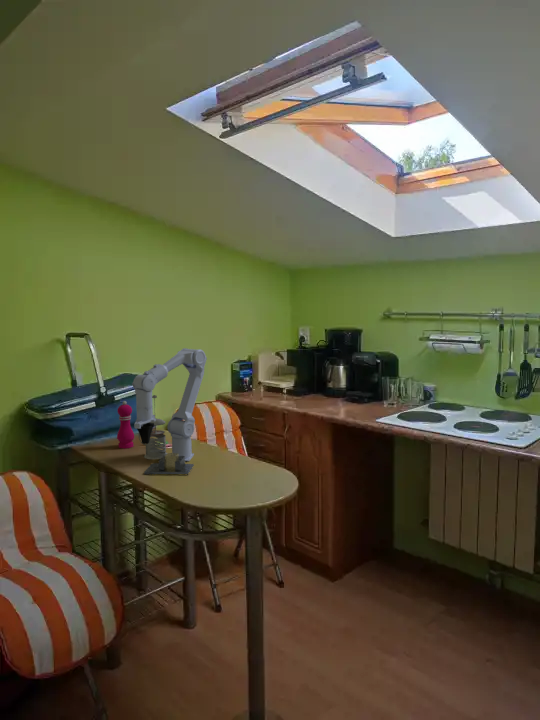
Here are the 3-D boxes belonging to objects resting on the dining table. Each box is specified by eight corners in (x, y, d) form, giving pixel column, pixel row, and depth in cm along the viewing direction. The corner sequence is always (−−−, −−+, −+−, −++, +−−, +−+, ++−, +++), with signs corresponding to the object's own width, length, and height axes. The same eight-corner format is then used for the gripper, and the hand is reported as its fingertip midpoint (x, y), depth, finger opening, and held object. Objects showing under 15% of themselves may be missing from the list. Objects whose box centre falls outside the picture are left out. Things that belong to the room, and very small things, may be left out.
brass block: (168, 466, 199) (167, 453, 198) (178, 466, 199) (178, 453, 198) (165, 469, 195) (165, 456, 194) (176, 469, 195) (175, 456, 194)
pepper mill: (116, 445, 231) (114, 400, 229) (133, 443, 234) (131, 399, 232) (118, 449, 225) (117, 403, 223) (136, 447, 228) (134, 401, 226)
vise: (152, 465, 203) (151, 454, 202) (193, 466, 202) (193, 454, 201) (144, 474, 193) (143, 462, 192) (187, 475, 192) (187, 462, 191)
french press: (170, 457, 213) (169, 396, 210) (141, 461, 209) (139, 398, 206) (166, 451, 222) (164, 392, 220) (137, 454, 218) (135, 394, 215)
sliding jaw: (167, 460, 205) (166, 451, 205) (172, 460, 205) (172, 452, 205) (158, 470, 194) (158, 461, 193) (164, 470, 194) (164, 461, 193)
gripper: (147, 411, 188) (148, 449, 190) (162, 403, 203) (163, 438, 204) (128, 411, 189) (129, 448, 191) (144, 403, 204) (145, 438, 205)
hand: (145, 443), depth 198 cm, fingers closed
